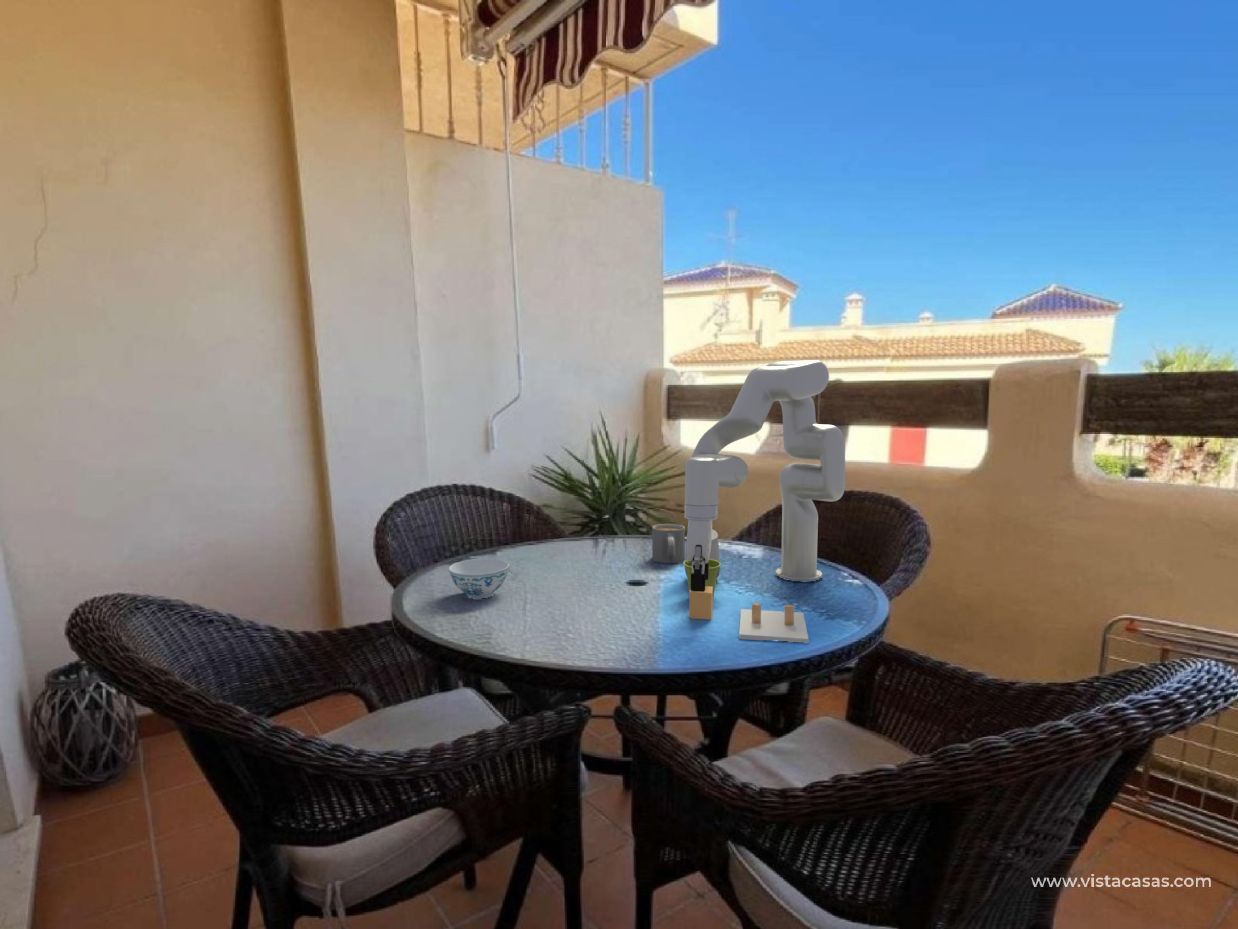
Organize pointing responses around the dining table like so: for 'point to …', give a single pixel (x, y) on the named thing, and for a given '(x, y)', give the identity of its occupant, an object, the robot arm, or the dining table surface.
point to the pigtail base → (772, 624)
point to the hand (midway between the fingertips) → (699, 585)
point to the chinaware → (479, 576)
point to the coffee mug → (668, 543)
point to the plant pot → (712, 573)
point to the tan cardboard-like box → (701, 604)
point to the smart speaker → (714, 549)
